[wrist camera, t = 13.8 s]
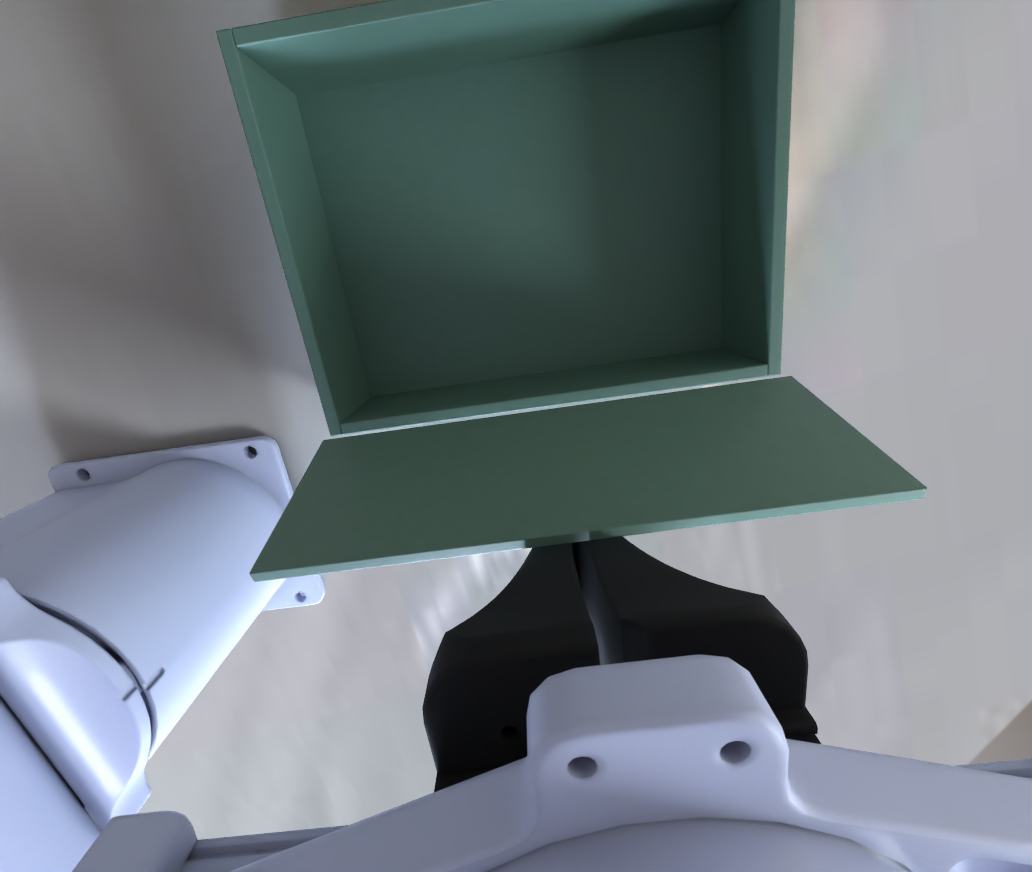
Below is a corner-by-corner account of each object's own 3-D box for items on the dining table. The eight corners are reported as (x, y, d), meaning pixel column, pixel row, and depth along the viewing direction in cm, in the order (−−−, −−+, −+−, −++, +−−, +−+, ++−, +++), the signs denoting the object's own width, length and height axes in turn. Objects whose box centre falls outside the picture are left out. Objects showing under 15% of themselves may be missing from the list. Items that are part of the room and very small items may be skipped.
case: (727, 354, 18) (781, 374, 15) (366, 405, 19) (330, 436, 15) (728, 13, 15) (799, -74, 11) (286, 88, 15) (215, 30, 12)
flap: (791, 375, 14) (789, 384, 14) (323, 439, 15) (326, 447, 15) (929, 488, 10) (924, 499, 10) (247, 573, 10) (254, 583, 10)
